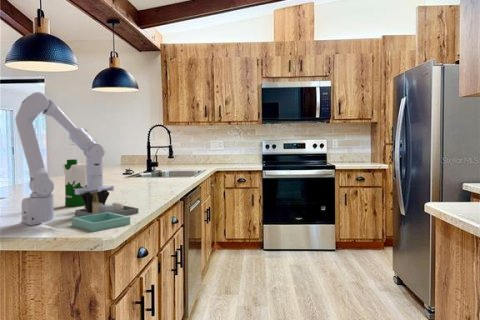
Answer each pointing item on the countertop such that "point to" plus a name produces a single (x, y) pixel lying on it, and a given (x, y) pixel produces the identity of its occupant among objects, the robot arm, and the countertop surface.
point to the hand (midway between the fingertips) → (95, 211)
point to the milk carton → (74, 182)
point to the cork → (95, 197)
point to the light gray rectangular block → (106, 208)
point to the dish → (100, 221)
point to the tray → (125, 211)
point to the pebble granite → (118, 206)
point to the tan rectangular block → (96, 207)
